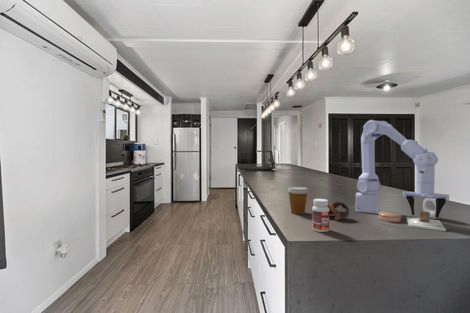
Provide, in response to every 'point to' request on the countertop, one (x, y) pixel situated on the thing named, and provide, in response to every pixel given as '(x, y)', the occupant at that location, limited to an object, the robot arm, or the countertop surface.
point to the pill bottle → (320, 215)
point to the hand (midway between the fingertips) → (424, 216)
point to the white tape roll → (428, 208)
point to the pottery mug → (334, 211)
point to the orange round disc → (389, 216)
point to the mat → (411, 224)
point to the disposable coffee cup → (297, 199)
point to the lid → (425, 219)
